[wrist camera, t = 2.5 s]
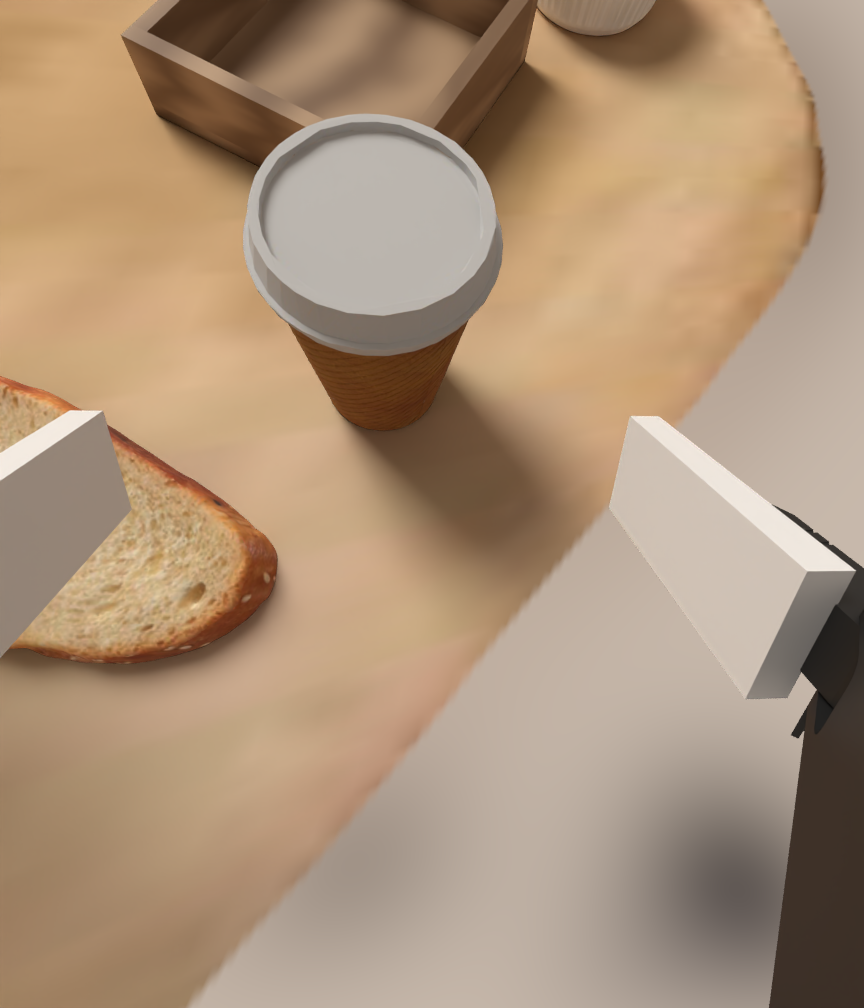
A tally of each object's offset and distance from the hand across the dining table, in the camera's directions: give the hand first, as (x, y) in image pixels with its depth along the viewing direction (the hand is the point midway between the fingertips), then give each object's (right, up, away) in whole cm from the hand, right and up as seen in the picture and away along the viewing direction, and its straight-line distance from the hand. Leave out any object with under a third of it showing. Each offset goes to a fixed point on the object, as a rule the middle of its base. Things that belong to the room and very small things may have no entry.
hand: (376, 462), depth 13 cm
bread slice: (-17, -2, +13) cm, 22 cm away
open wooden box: (-4, +27, +22) cm, 35 cm away
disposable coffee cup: (-1, +6, +16) cm, 17 cm away
